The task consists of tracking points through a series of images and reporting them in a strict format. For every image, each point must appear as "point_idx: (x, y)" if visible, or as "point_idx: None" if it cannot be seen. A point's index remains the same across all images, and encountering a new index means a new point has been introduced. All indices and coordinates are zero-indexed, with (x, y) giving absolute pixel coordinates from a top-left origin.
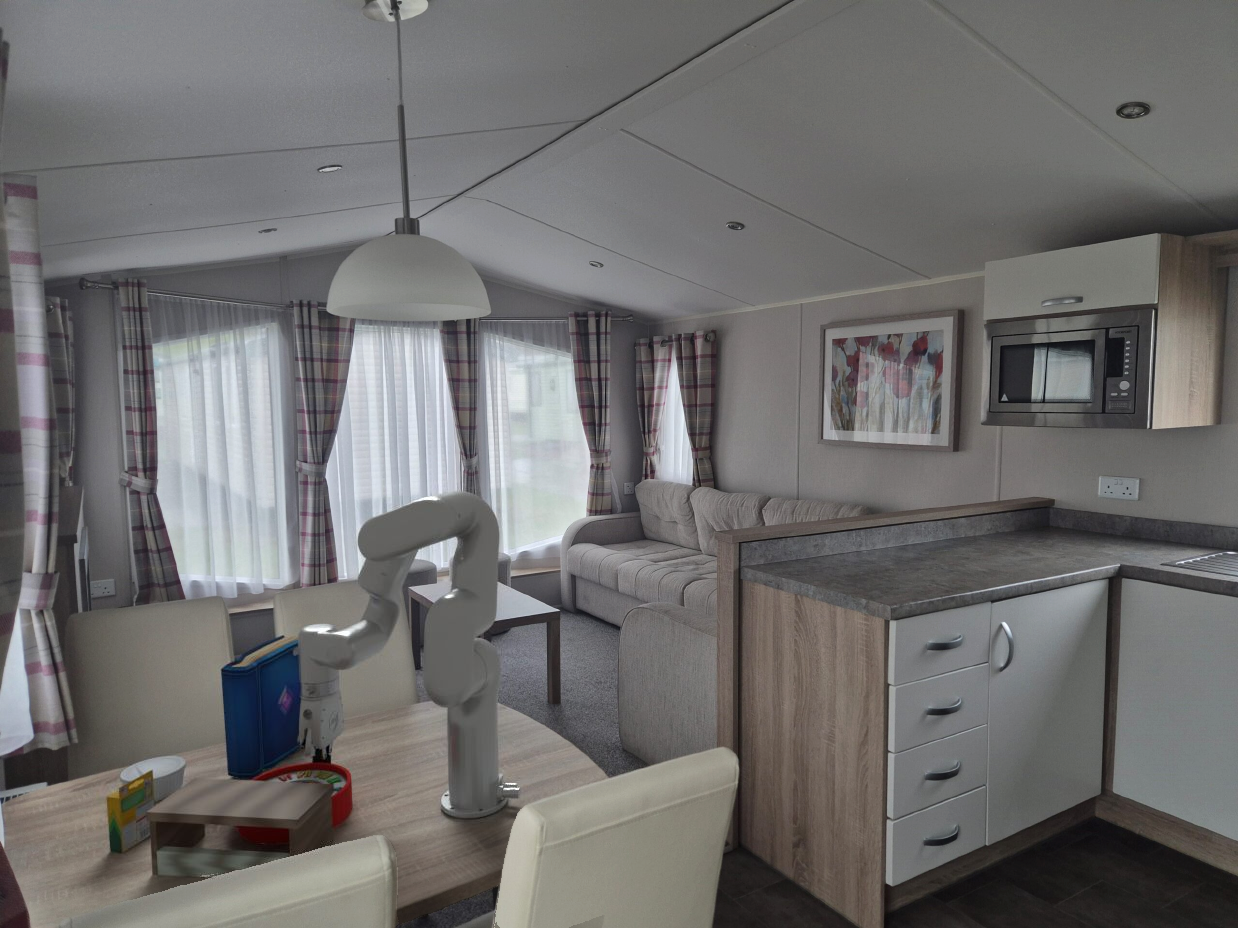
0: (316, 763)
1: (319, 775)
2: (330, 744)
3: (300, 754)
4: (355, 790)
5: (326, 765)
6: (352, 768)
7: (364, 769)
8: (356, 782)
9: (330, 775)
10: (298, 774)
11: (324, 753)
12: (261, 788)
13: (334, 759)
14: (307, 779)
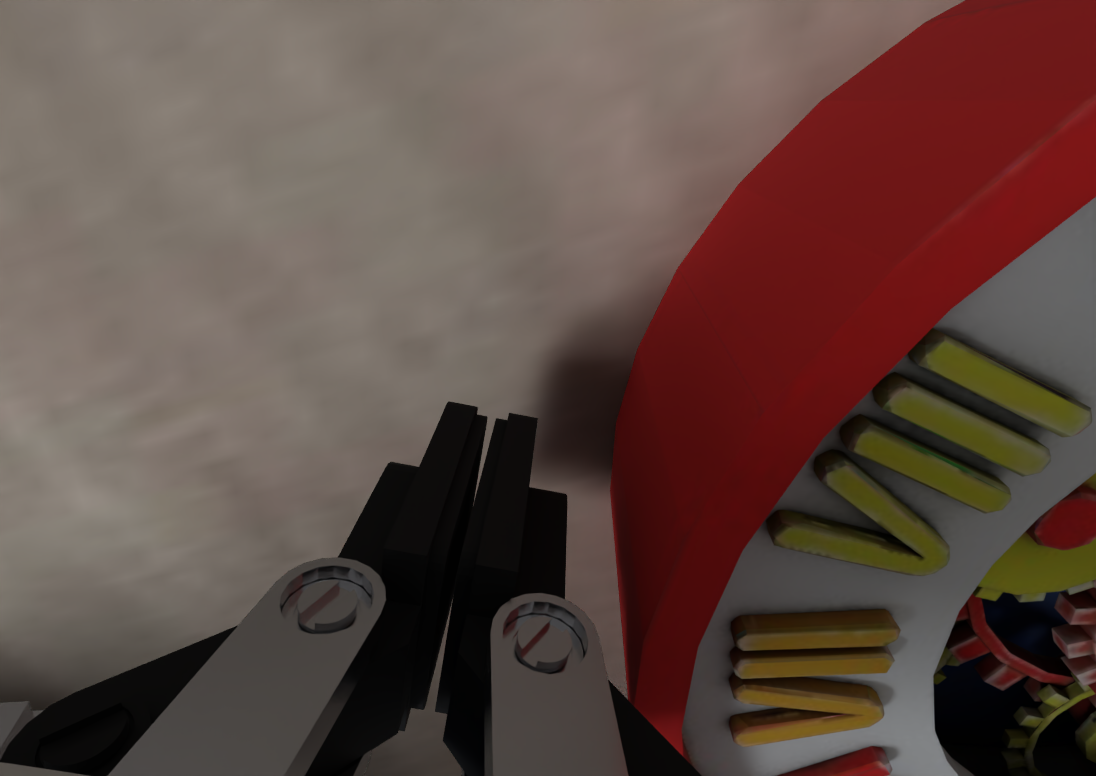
0: (678, 654)
1: (914, 512)
2: (272, 713)
3: (20, 690)
4: (706, 11)
5: (761, 511)
6: (146, 226)
7: (138, 63)
8: (486, 66)
9: (1000, 359)
10: (818, 727)
11: (556, 681)
12: None
13: (12, 453)
14: (957, 613)
